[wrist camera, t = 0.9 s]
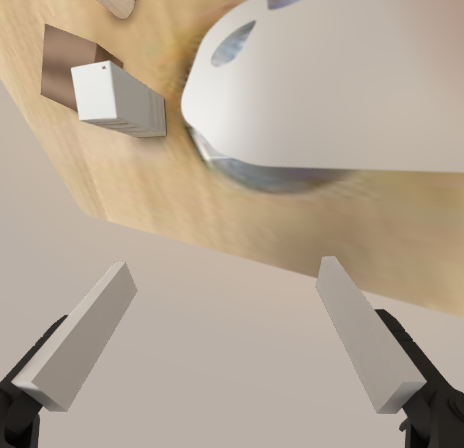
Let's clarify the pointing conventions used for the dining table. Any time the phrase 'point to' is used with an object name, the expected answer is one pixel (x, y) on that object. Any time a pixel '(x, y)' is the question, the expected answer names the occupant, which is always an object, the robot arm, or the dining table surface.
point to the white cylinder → (119, 7)
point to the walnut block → (67, 63)
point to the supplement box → (117, 100)
